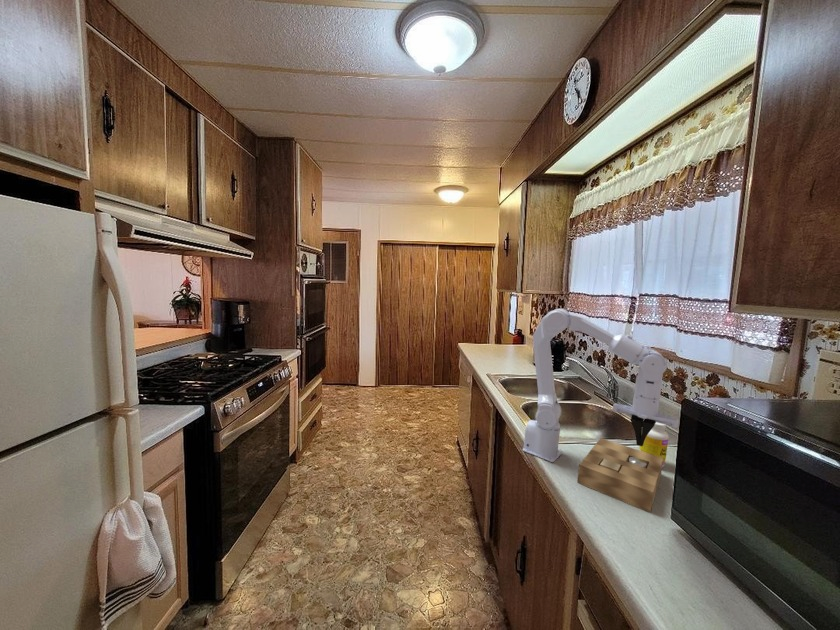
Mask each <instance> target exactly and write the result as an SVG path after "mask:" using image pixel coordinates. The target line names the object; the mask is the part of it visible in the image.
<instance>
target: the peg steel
mask: <svg viewBox="0 0 840 630" xmlns="http://www.w3.org/2000/svg"><path fill="white" fill-rule="evenodd" d="M629 463H632V464H635V465H638V466H641V467H644V468H646V464H647V463H646V462H645V461H644V460H642V459H640V458H636V457H630V458H629Z"/></svg>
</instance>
